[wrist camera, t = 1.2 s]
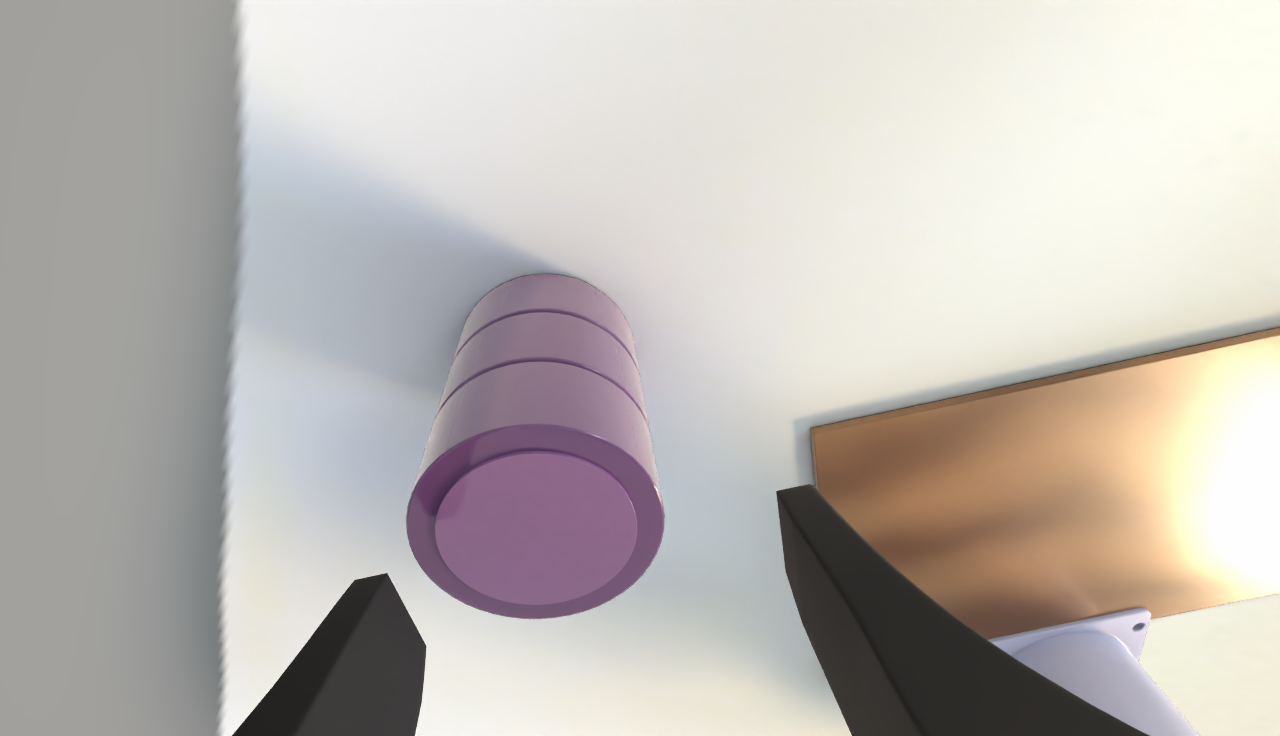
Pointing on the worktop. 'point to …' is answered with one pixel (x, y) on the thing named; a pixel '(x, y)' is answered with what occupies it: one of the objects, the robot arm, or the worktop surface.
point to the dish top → (536, 493)
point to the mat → (1076, 489)
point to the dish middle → (546, 352)
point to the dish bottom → (549, 306)
